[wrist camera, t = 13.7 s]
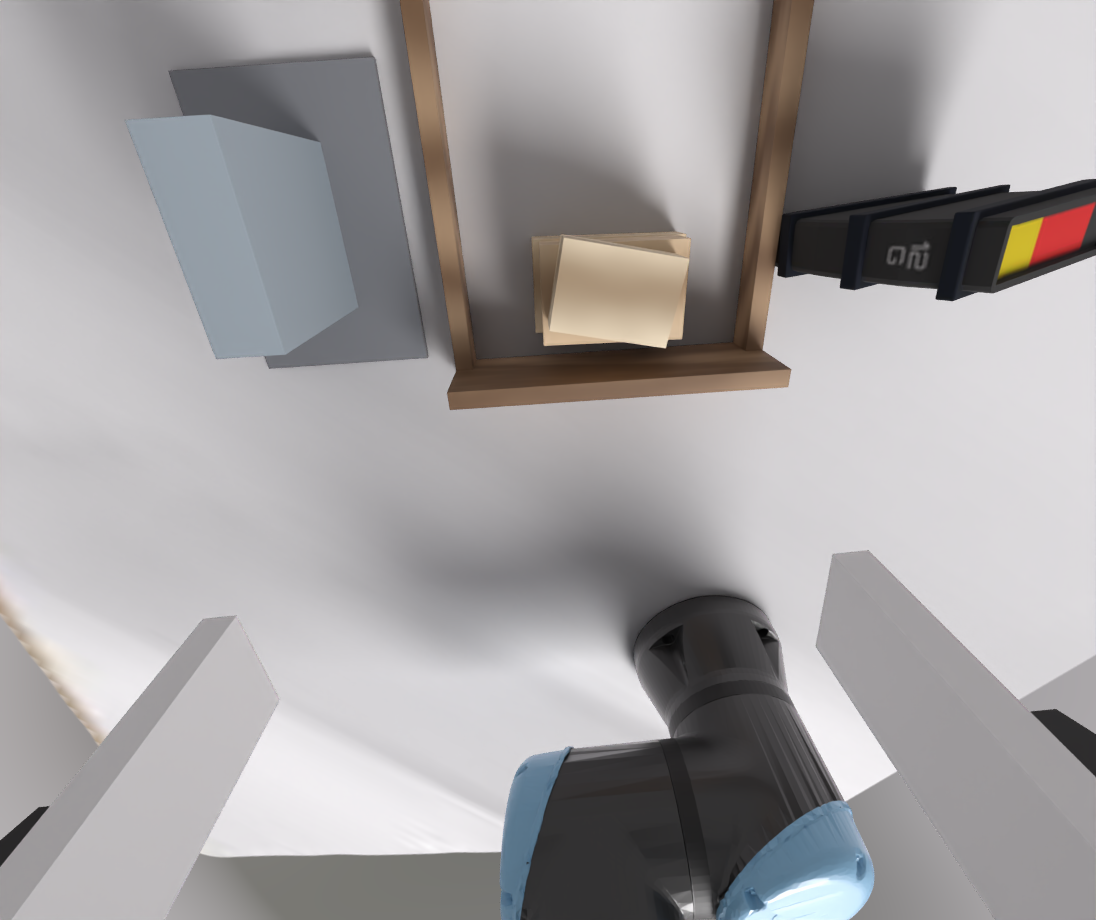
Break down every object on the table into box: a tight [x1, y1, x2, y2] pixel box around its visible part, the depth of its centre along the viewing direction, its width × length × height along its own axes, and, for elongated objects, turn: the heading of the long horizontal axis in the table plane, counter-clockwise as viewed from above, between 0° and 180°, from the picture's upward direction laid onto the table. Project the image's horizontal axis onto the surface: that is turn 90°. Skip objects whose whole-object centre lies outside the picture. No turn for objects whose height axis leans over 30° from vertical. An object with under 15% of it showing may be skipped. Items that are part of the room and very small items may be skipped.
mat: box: [169, 57, 428, 369], centre depth 33 cm, size 18×12×1 cm, turn 3°
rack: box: [400, 0, 814, 410], centre depth 29 cm, size 26×22×7 cm
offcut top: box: [548, 234, 690, 348], centre depth 29 cm, size 5×7×3 cm
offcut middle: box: [539, 235, 691, 346], centre depth 32 cm, size 6×9×3 cm, turn 92°
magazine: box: [775, 179, 1096, 301], centre depth 29 cm, size 4×13×15 cm, turn 98°
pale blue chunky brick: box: [125, 115, 358, 359], centre depth 28 cm, size 10×4×12 cm, turn 3°
